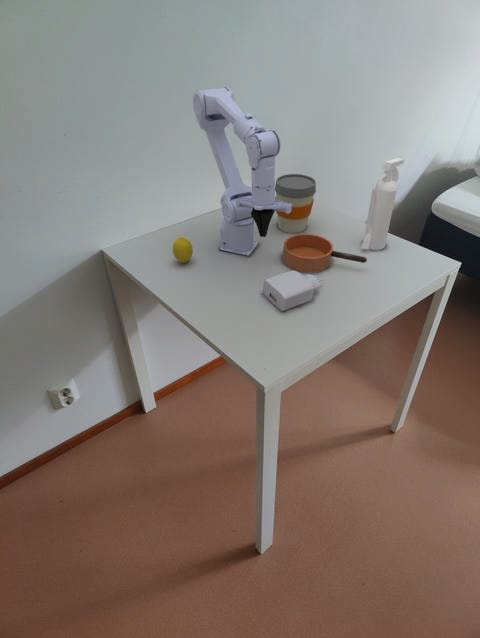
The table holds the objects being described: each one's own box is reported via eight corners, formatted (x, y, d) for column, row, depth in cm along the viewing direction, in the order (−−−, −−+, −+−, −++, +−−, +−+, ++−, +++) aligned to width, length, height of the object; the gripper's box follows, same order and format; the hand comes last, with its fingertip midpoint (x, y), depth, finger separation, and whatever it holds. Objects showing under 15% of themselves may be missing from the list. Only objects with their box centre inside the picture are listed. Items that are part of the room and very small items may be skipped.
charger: (331, 294, 104) (283, 312, 98) (309, 276, 110) (262, 293, 104) (333, 278, 101) (284, 297, 95) (310, 262, 107) (263, 278, 101)
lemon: (196, 259, 117) (194, 234, 112) (188, 268, 113) (186, 243, 108) (179, 255, 118) (176, 231, 113) (170, 265, 114) (167, 240, 109)
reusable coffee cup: (267, 231, 130) (269, 185, 120) (279, 215, 139) (282, 171, 129) (305, 238, 126) (310, 192, 117) (315, 221, 135) (321, 177, 125)
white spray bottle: (349, 248, 121) (366, 164, 105) (373, 235, 128) (392, 153, 112) (369, 257, 118) (388, 171, 101) (392, 243, 124) (414, 160, 108)
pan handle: (327, 256, 113) (327, 251, 112) (328, 253, 114) (329, 248, 113) (365, 264, 110) (366, 259, 109) (366, 261, 111) (367, 256, 110)
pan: (276, 266, 114) (277, 252, 111) (290, 243, 124) (292, 230, 121) (324, 276, 110) (326, 262, 107) (335, 252, 120) (337, 239, 117)
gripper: (229, 186, 100) (232, 237, 108) (286, 192, 95) (284, 245, 103) (240, 178, 105) (242, 227, 113) (294, 183, 100) (292, 234, 108)
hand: (263, 235), depth 108 cm, fingers closed
